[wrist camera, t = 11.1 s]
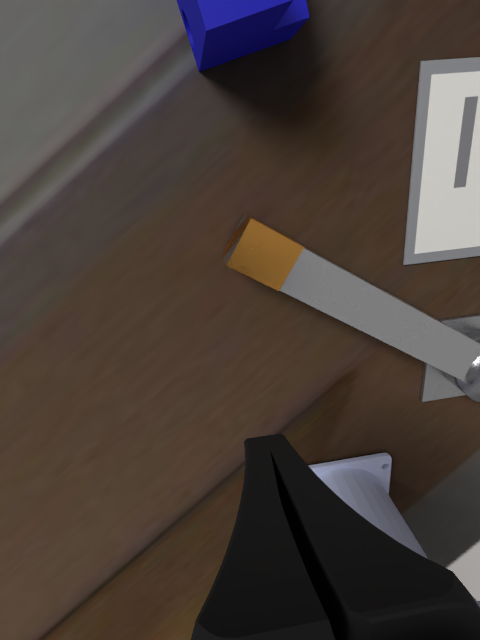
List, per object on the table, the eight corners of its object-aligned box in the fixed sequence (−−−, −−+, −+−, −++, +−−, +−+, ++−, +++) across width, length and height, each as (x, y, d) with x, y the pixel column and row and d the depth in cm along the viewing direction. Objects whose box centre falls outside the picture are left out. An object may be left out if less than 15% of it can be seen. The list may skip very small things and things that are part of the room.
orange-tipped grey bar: (509, 344, 25) (538, 360, 23) (471, 391, 27) (496, 411, 24) (250, 199, 20) (258, 203, 18) (215, 267, 21) (219, 279, 19)
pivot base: (498, 386, 27) (502, 389, 27) (419, 399, 27) (422, 401, 26) (515, 308, 25) (519, 310, 25) (429, 320, 24) (431, 322, 24)
